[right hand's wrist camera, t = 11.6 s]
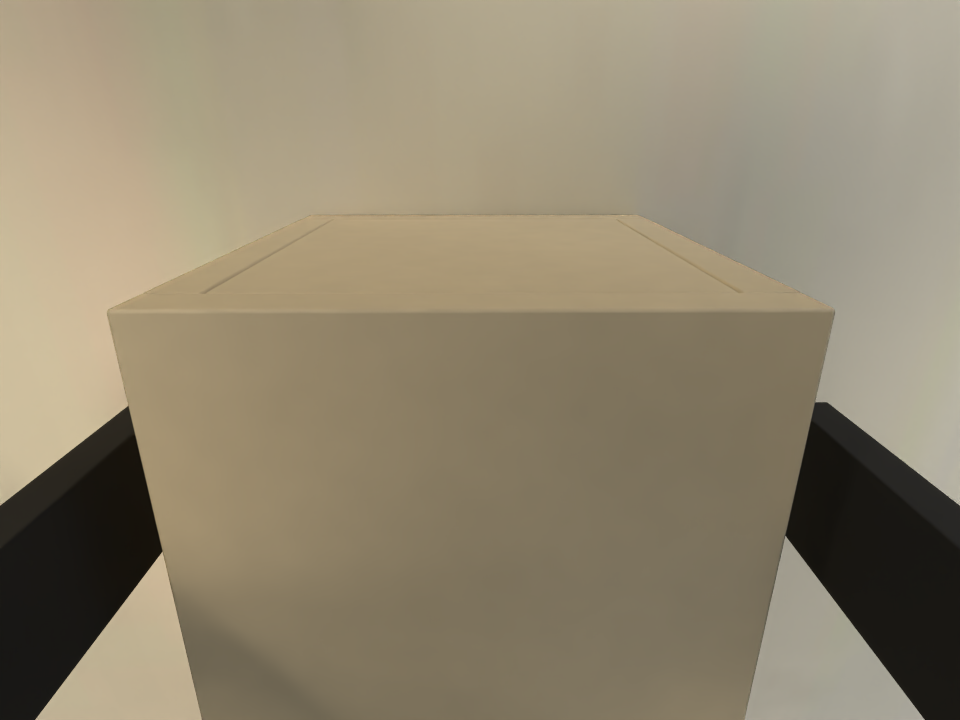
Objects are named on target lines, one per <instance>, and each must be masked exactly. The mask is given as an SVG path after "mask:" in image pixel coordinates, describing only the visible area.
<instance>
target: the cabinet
mask: <svg viewBox="0 0 960 720" xmlns="http://www.w3.org/2000/svg"><path fill="white" fill-rule="evenodd" d="M834 315H835V310H834V308H832V307H830V306H827V305H825V304H823V303H821V302H819V301H817V300H815V299H813V298H811V297H809V296H807V295H804V294H802V293H800V292H799V291H797V290H795V289H793V288H791V287H788V286H786V285H784V284H782V283H780V282H778V281H776V280H774V279H772V278H770V277H768V276H765V275H763V274H761V273H759V272H757V271H755V270H753V269H751V268H749V267H747V266H745V265H742V264H740V263H738V262H736V261H734V260H732V259H730V258H728V257H726V256H724V255H722V254H719V253H717V252H715V251H713V250H711V249H709V248H707V247H705V246H703V245H701V244H699V243H696V242H694V241H692V240H690V239H688V238H686V237H684V236H682V235H680V234H678V233H676V232H673V231H671V230H669V229H667V228H665V227H663V226H661V225H659V224H657V223H655V222H653V221H650V220H648V219H645V218H643V217H641V216H639V215H310V216H308V217H306V218H304V219H301V220H299V221H297V222H295V223H292V224H290V225H288V226H286V227H284V228H282V229H280V230H277V231H275V232H273V233H271V234H269V235H267V236H265V237H262V238H260V239H258V240H256V241H254V242H252V243H250V244H247V245H245V246H243V247H241V248H239V249H237V250H235V251H232V252H230V253H228V254H226V255H224V256H222V257H220V258H217V259H215V260H213V261H211V262H209V263H207V264H205V265H202V266H200V267H198V268H196V269H194V270H192V271H190V272H188V273H185V274H183V275H181V276H179V277H177V278H175V279H173V280H170V281H168V282H166V283H164V284H162V285H160V286H158V287H155V288H153V289H151V290H149V291H147V292H145V293H143V294H141V295H138V296H136V297H134V298H132V299H130V300H128V301H126V302H123V303H121V304H119V305H117V306H115V307H113V308H111V309H108V311H107V316H108V320H109V325H110V329H111V333H112V337H113V342H114V346H115V350H116V354H117V359H118V363H119V367H120V372H121V376H122V380H123V384H124V389H125V393H126V397H127V401H128V406H129V410H130V414H131V418H132V423H133V427H134V431H135V435H136V440H137V444H138V448H139V453H140V457H141V461H142V465H143V470H144V474H145V478H146V482H147V487H148V491H149V495H150V499H151V504H152V508H153V512H154V516H155V521H156V525H157V529H158V533H159V538H160V542H161V546H162V551H163V555H164V559H165V563H166V568H167V572H168V576H169V580H170V585H171V589H172V593H173V597H174V602H175V606H176V610H177V614H178V619H179V623H180V627H181V632H182V636H183V640H184V644H185V649H186V653H187V657H188V661H189V666H190V670H191V674H192V678H193V683H194V687H195V691H196V695H197V700H198V704H199V708H200V712H201V717H202V720H744V718H745V714H746V709H747V705H748V700H749V696H750V691H751V687H752V682H753V678H754V674H755V669H756V665H757V660H758V656H759V651H760V647H761V642H762V638H763V633H764V629H765V624H766V620H767V615H768V611H769V606H770V602H771V597H772V593H773V588H774V584H775V579H776V575H777V570H778V566H779V561H780V557H781V552H782V548H783V543H784V539H785V534H786V530H787V526H788V521H789V517H790V512H791V508H792V503H793V499H794V494H795V490H796V485H797V481H798V476H799V472H800V467H801V463H802V458H803V454H804V449H805V445H806V440H807V436H808V431H809V427H810V422H811V418H812V413H813V409H814V404H815V400H816V395H817V391H818V386H819V382H820V377H821V373H822V369H823V364H824V360H825V355H826V351H827V346H828V342H829V337H830V333H831V328H832V324H833V319H834Z"/></svg>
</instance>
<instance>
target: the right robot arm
mask: <svg viewBox="0 0 960 720" xmlns="http://www.w3.org/2000/svg"><path fill="white" fill-rule="evenodd" d="M785 536H786V537H787V538H788V540H789V541H790V542H791V543H792V545H793V546H794V547H795V549H796V550H797V551H798V553H799V554H800V555H801V557H802V558H803V559H804V561H805V562H806V563H807V565H808V566H809V567H810V569H811V570H812V571H813V573H814V574H815V575H816V577H817V578H818V579H819V580H820V582H821V583H822V584H823V586H824V587H825V588H826V590H827V591H828V592H829V594H830V595H831V596H832V598H833V599H834V600H835V602H836V603H837V604H838V606H839V607H840V608H841V610H842V611H843V612H844V614H845V615H846V616H847V617H848V619H849V620H850V621H851V623H852V624H853V625H854V627H855V628H856V629H857V631H858V632H859V633H860V635H861V636H862V637H863V639H864V640H865V641H866V643H867V644H868V645H869V647H870V648H871V649H872V650H873V652H874V653H875V654H876V656H877V657H878V658H879V660H880V661H881V662H882V664H883V665H884V666H885V668H886V669H887V670H888V672H889V673H890V674H891V676H892V677H893V678H894V680H895V681H896V682H897V684H898V685H899V686H900V687H901V689H902V690H903V691H904V693H905V694H906V695H907V697H908V698H909V699H910V701H911V702H912V703H913V705H914V706H915V707H916V709H917V710H918V711H919V713H920V714H921V715H922V717H923V718H924V719H925V720H960V506H959V505H958V504H957V503H956V502H954V501H953V500H952V499H950V498H949V497H948V496H947V495H945V494H944V493H943V492H941V491H940V490H939V489H938V488H936V487H935V486H934V485H932V484H931V483H930V482H929V481H927V480H926V479H925V478H923V477H922V476H921V475H920V474H918V473H917V472H916V471H914V470H913V469H912V468H911V467H909V466H908V465H907V464H905V463H904V462H903V461H902V460H900V459H899V458H898V457H896V456H895V455H894V454H893V453H891V452H890V451H889V450H887V449H886V448H885V447H884V446H882V445H881V444H880V443H878V442H877V441H876V440H875V439H873V438H872V437H871V436H870V435H868V434H867V433H866V432H864V431H863V430H862V429H861V428H859V427H858V426H857V425H855V424H854V423H853V422H852V421H850V420H849V419H848V418H846V417H845V416H844V415H843V414H841V413H840V412H839V411H837V410H836V409H835V408H834V407H832V406H831V405H830V404H828V403H827V402H815V404H814V409H813V413H812V418H811V422H810V427H809V431H808V436H807V440H806V445H805V449H804V454H803V458H802V463H801V467H800V472H799V476H798V481H797V485H796V490H795V494H794V499H793V503H792V508H791V512H790V517H789V521H788V526H787V530H786V534H785ZM161 553H162V546H161V542H160V538H159V533H158V529H157V525H156V521H155V516H154V512H153V508H152V504H151V499H150V495H149V491H148V487H147V482H146V478H145V474H144V470H143V465H142V461H141V457H140V453H139V448H138V444H137V440H136V435H135V431H134V427H133V423H132V418H131V414H130V410H129V406H128V407H126V408H125V409H124V410H123V411H121V412H120V413H119V414H117V415H116V416H115V417H114V418H112V419H111V420H110V421H108V422H107V423H106V424H105V425H103V426H102V427H101V428H99V429H98V430H97V431H96V432H94V433H93V434H92V435H90V436H89V437H88V438H87V439H85V440H84V441H83V442H82V443H80V444H79V445H78V446H76V447H75V448H74V449H73V450H71V451H70V452H69V453H67V454H66V455H65V456H64V457H62V458H61V459H60V460H58V461H57V462H56V463H55V464H53V465H52V466H51V467H49V468H48V469H47V470H46V471H44V472H43V473H42V474H40V475H39V476H38V477H37V478H35V479H34V480H33V481H31V482H30V483H29V484H28V485H26V486H25V487H24V488H22V489H21V490H20V491H19V492H17V493H16V494H15V495H13V496H12V497H11V498H10V499H8V500H7V501H6V502H4V503H3V504H2V505H1V506H0V720H35V719H36V718H37V717H38V715H39V714H40V713H41V711H42V710H43V709H44V707H45V706H46V705H47V703H48V702H49V701H50V699H51V698H52V697H53V695H54V694H55V693H56V691H57V690H58V689H59V687H60V686H61V685H62V684H63V682H64V681H65V680H66V678H67V677H68V676H69V674H70V673H71V672H72V670H73V669H74V668H75V666H76V665H77V664H78V662H79V661H80V660H81V658H82V657H83V656H84V654H85V653H86V652H87V650H88V649H89V648H90V647H91V645H92V644H93V643H94V641H95V640H96V639H97V637H98V636H99V635H100V633H101V632H102V631H103V629H104V628H105V627H106V625H107V624H108V623H109V621H110V620H111V619H112V617H113V616H114V615H115V614H116V612H117V611H118V610H119V608H120V607H121V606H122V604H123V603H124V602H125V600H126V599H127V598H128V596H129V595H130V594H131V592H132V591H133V590H134V588H135V587H136V586H137V584H138V583H139V582H140V580H141V579H142V578H143V577H144V575H145V574H146V573H147V571H148V570H149V569H150V567H151V566H152V565H153V563H154V562H155V561H156V559H157V558H158V557H159V555H160V554H161Z"/></svg>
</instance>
